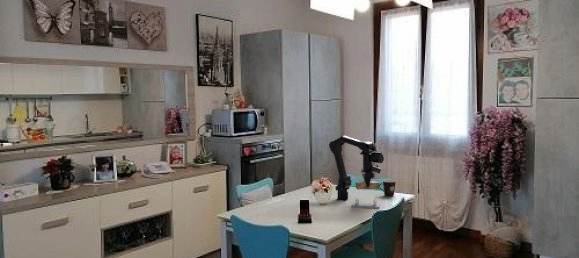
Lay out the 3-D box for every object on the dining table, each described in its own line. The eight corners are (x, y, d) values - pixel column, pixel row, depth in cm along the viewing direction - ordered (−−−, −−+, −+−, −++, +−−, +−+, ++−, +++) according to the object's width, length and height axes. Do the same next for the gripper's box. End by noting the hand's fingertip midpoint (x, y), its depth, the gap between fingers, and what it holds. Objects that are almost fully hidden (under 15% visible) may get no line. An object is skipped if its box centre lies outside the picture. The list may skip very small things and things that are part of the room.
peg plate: (351, 206, 279) (351, 200, 278) (353, 203, 288) (353, 197, 288) (379, 208, 274) (379, 202, 274) (380, 204, 284) (380, 198, 284)
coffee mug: (394, 194, 314) (394, 179, 313) (396, 196, 305) (396, 182, 305) (377, 193, 315) (377, 179, 314) (379, 196, 306) (379, 182, 306)
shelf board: (357, 189, 283) (357, 183, 283) (355, 187, 289) (355, 181, 289) (379, 189, 284) (379, 182, 283) (377, 187, 289) (377, 181, 289)
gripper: (382, 163, 275) (382, 189, 276) (378, 159, 294) (378, 183, 295) (364, 164, 276) (364, 189, 277) (361, 159, 295) (361, 183, 296)
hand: (367, 186), depth 286 cm, fingers closed on shelf board, 6 cm apart
